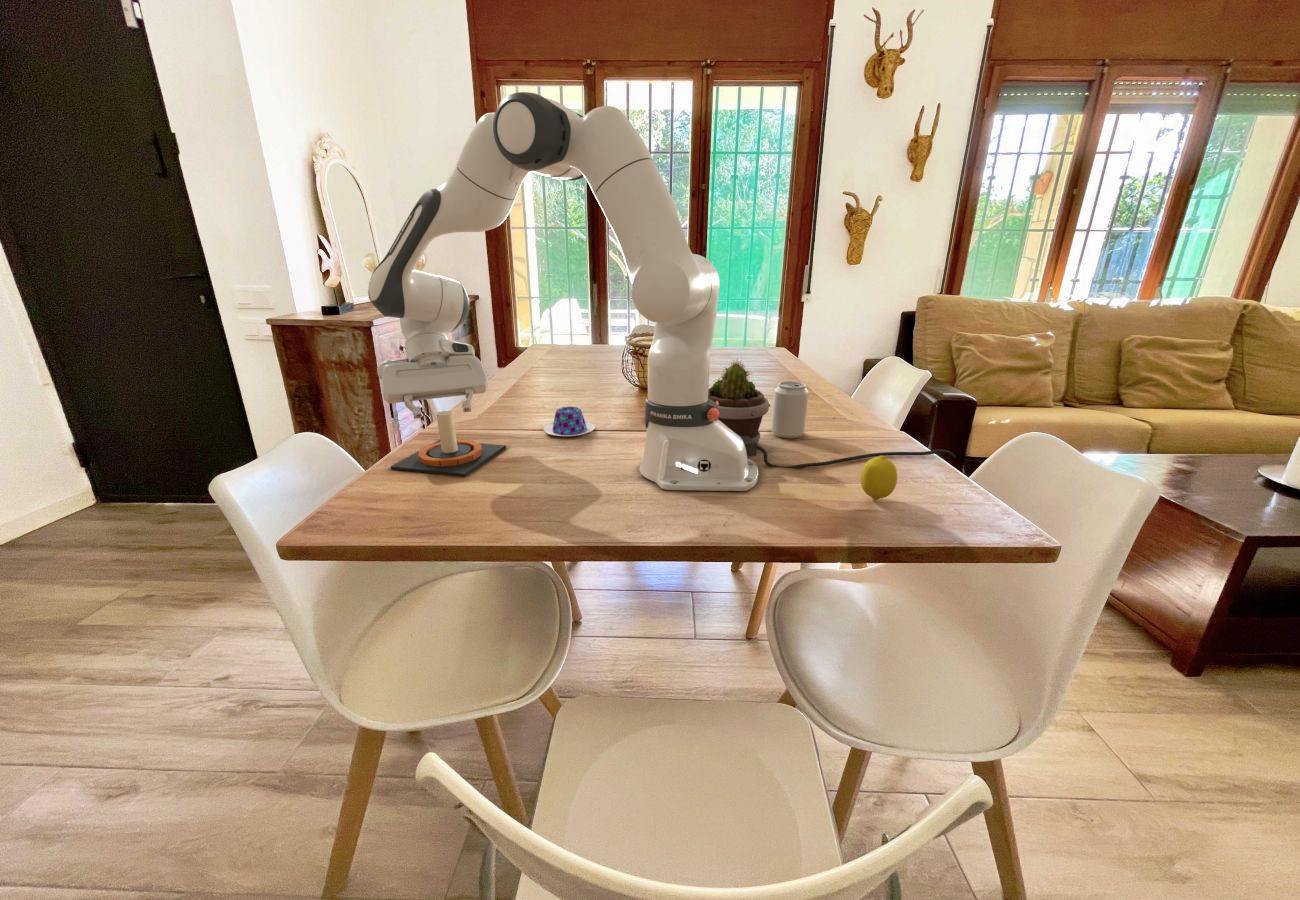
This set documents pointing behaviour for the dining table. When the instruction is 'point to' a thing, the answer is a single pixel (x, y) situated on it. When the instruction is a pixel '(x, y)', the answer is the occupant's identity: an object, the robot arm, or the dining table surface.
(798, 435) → the can
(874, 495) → the lemon
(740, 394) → the flowerpot
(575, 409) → the pudding
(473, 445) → the base pad
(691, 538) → the dining table surface
